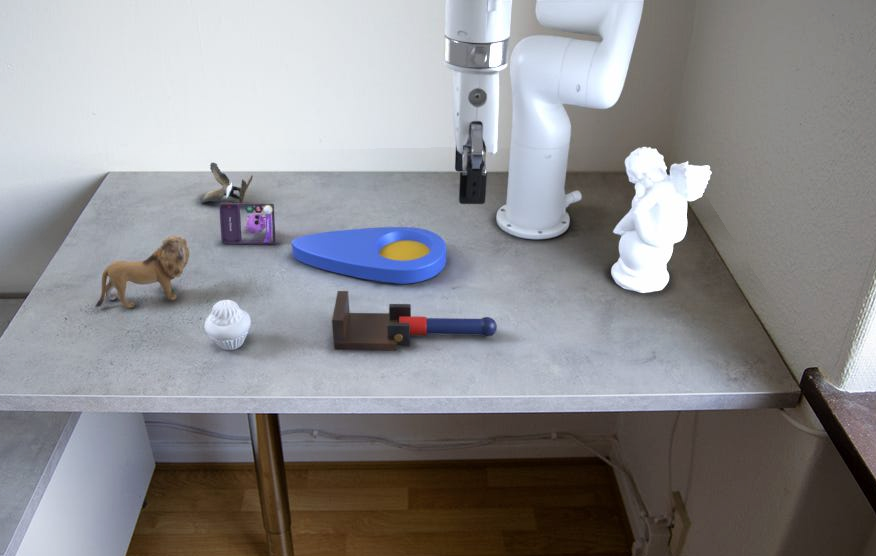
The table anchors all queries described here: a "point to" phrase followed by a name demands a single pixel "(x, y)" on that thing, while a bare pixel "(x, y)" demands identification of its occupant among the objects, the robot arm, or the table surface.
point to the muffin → (228, 325)
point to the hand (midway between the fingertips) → (469, 186)
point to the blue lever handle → (449, 325)
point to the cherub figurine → (654, 218)
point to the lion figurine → (147, 271)
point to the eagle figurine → (224, 187)
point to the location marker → (375, 253)
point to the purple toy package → (254, 224)
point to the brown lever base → (369, 327)
